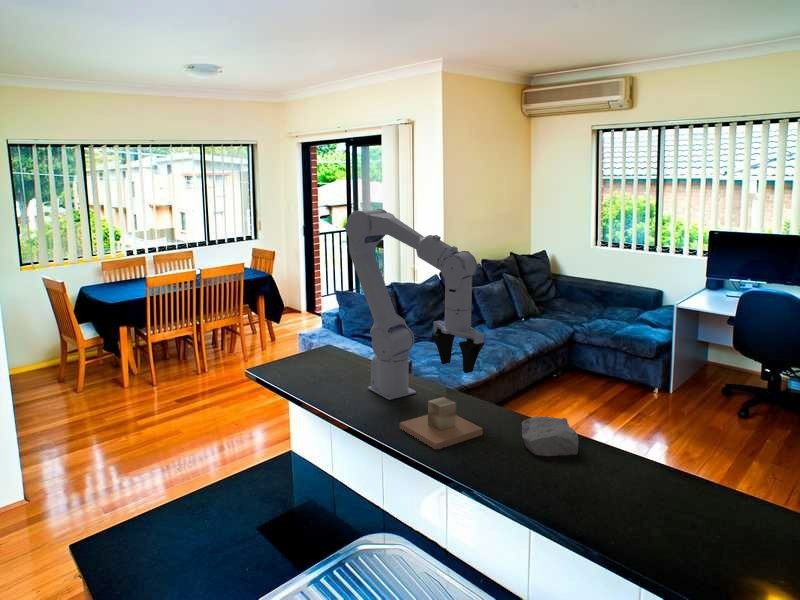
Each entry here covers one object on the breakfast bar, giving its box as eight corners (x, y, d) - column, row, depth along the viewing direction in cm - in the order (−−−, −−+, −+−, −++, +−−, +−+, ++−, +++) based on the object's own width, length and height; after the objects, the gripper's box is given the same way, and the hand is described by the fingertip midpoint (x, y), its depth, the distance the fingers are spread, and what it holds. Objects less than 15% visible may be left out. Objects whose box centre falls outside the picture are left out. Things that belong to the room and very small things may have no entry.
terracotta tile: (399, 431, 124) (399, 422, 124) (444, 418, 131) (444, 409, 131) (435, 453, 115) (436, 443, 114) (482, 437, 121) (482, 428, 121)
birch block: (427, 424, 123) (428, 400, 122) (442, 419, 125) (443, 397, 124) (440, 430, 120) (440, 407, 119) (455, 426, 122) (456, 402, 121)
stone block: (531, 466, 112) (583, 456, 112) (526, 442, 112) (580, 432, 111) (518, 440, 124) (566, 431, 124) (514, 418, 123) (562, 409, 123)
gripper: (423, 304, 134) (422, 362, 137) (466, 316, 123) (465, 380, 125) (447, 300, 138) (446, 357, 141) (491, 312, 127) (489, 373, 129)
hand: (456, 367), depth 133 cm, fingers open, 7 cm apart
